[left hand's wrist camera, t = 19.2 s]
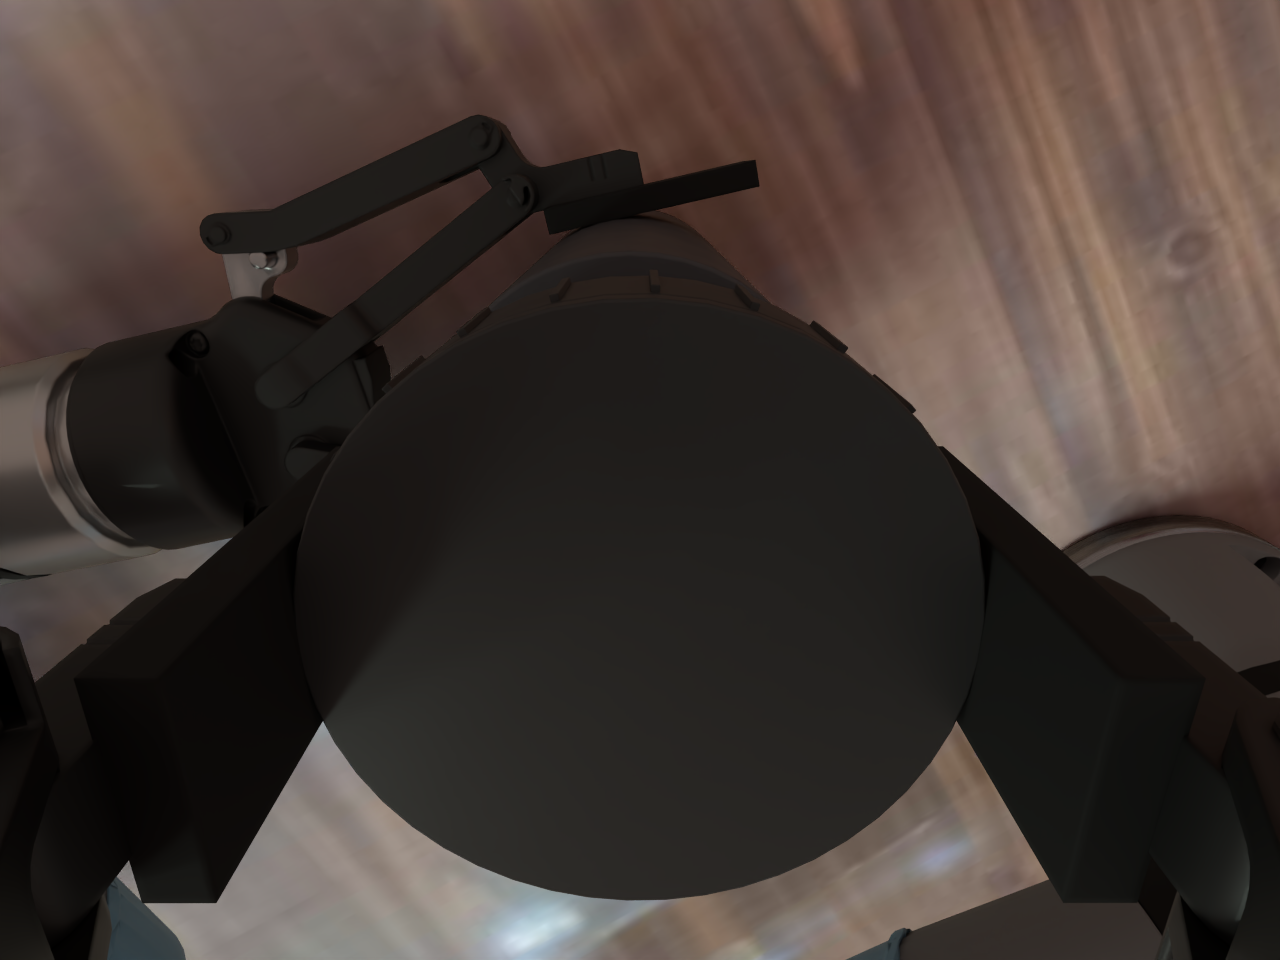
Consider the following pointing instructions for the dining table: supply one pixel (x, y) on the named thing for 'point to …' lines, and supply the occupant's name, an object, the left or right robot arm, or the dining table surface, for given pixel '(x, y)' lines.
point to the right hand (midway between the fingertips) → (771, 311)
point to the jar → (628, 256)
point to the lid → (639, 591)
